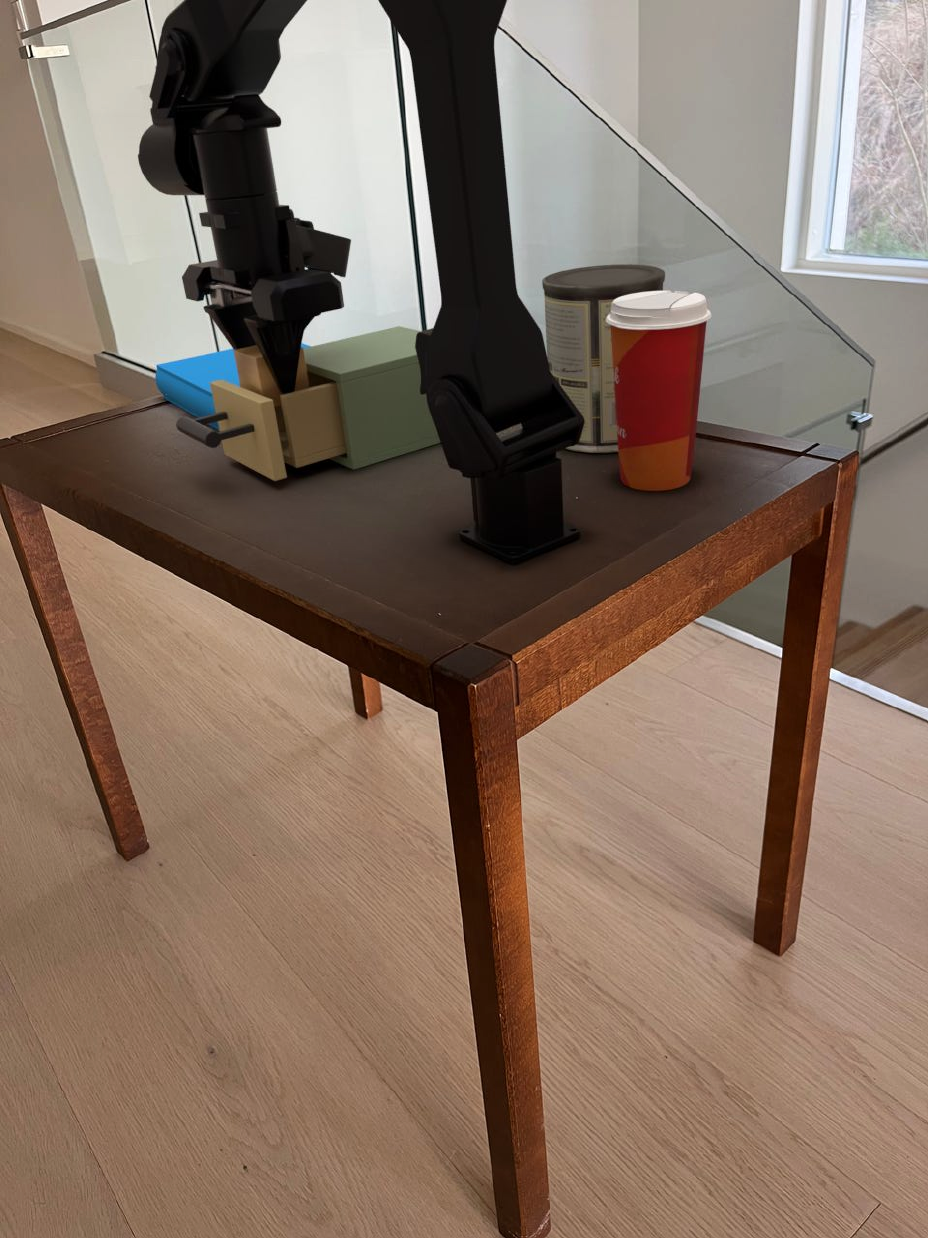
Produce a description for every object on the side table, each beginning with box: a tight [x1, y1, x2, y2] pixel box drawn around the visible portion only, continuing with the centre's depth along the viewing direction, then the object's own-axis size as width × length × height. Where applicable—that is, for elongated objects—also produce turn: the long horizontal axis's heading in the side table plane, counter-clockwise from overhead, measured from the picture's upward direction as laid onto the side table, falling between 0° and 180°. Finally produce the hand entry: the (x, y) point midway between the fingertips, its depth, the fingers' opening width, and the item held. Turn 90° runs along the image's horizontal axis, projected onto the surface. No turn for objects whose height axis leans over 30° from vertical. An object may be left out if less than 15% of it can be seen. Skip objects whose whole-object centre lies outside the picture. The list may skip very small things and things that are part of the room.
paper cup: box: [606, 290, 712, 492], centre depth 73 cm, size 8×8×14 cm
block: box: [234, 345, 309, 408], centre depth 83 cm, size 4×4×4 cm
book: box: [155, 342, 313, 432], centre depth 105 cm, size 17×4×25 cm
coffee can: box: [541, 264, 666, 454], centre depth 84 cm, size 10×10×14 cm
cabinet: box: [303, 325, 441, 471], centre depth 90 cm, size 14×12×9 cm
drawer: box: [175, 372, 347, 482], centre depth 85 cm, size 17×10×7 cm, turn 127°
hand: (275, 388), depth 83 cm, fingers closed on block, 4 cm apart
